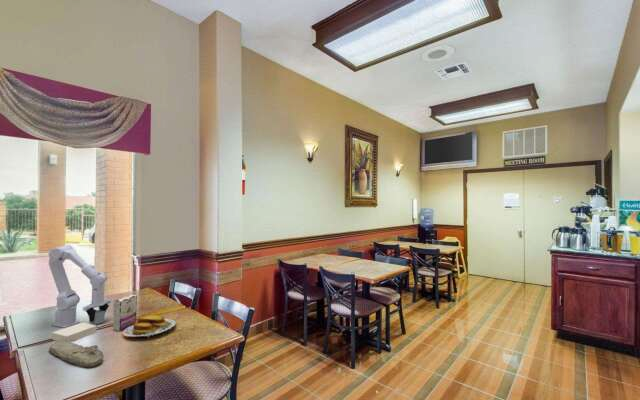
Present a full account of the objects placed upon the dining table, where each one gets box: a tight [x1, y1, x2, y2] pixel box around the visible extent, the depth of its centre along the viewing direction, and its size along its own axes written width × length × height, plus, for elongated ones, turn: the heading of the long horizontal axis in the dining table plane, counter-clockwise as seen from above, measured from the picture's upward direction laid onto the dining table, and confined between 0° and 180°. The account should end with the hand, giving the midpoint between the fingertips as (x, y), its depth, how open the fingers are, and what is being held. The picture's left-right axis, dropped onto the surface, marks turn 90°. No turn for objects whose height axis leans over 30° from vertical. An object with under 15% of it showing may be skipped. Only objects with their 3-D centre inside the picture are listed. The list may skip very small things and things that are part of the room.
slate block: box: [88, 309, 106, 326], centre depth 169 cm, size 5×5×6 cm
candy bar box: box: [112, 294, 138, 332], centre depth 166 cm, size 11×5×16 cm, turn 168°
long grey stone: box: [49, 341, 104, 368], centre depth 133 cm, size 35×5×10 cm
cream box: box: [51, 322, 98, 343], centre depth 153 cm, size 11×14×4 cm
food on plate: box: [122, 314, 177, 340], centre depth 162 cm, size 25×25×7 cm
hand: (96, 319), depth 169 cm, fingers closed on slate block, 5 cm apart
